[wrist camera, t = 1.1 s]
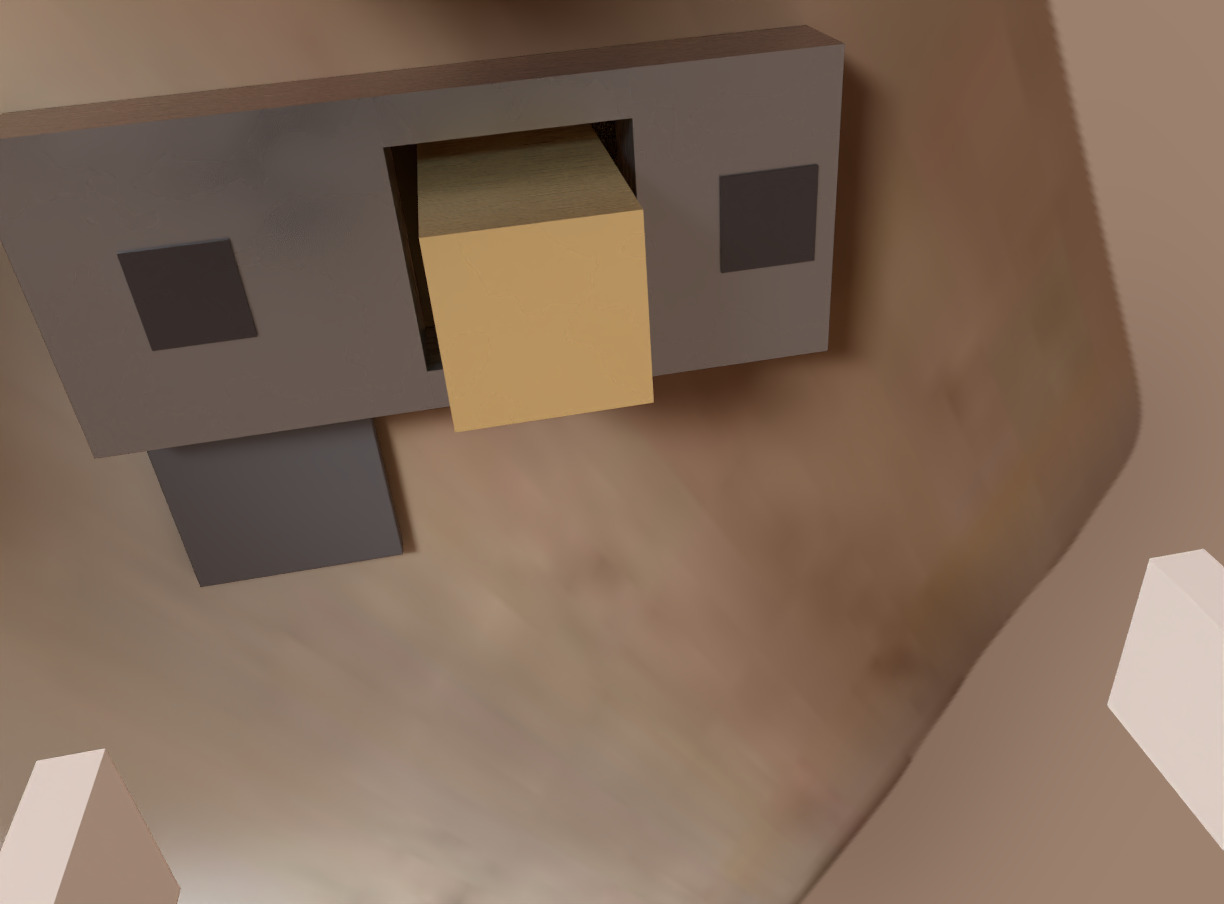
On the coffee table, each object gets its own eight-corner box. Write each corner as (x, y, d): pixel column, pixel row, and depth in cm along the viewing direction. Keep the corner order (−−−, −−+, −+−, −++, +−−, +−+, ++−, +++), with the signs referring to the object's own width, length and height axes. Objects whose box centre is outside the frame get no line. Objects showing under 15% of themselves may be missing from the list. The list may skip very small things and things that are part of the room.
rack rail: (120, 407, 31) (93, 460, 28) (2, 113, 26) (-43, 144, 23) (795, 311, 33) (828, 352, 30) (805, 25, 28) (846, 44, 25)
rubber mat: (203, 576, 34) (200, 587, 34) (136, 405, 31) (132, 414, 30) (402, 544, 35) (402, 554, 35) (362, 373, 31) (361, 381, 31)
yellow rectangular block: (445, 302, 31) (454, 432, 24) (416, 141, 28) (418, 237, 21) (601, 281, 31) (653, 402, 25) (589, 121, 28) (643, 209, 22)
